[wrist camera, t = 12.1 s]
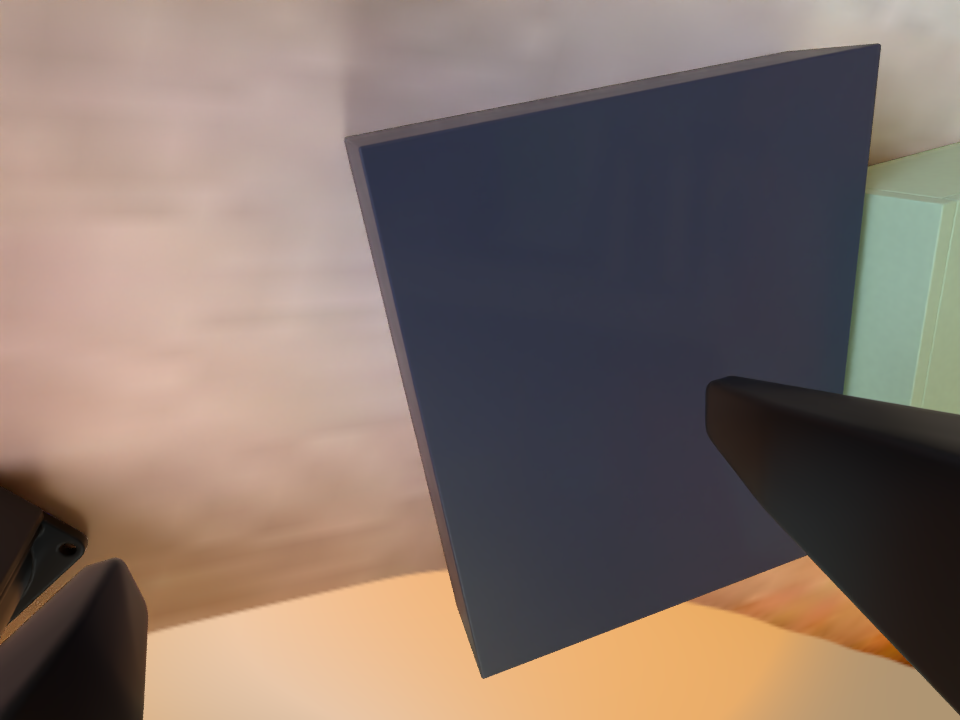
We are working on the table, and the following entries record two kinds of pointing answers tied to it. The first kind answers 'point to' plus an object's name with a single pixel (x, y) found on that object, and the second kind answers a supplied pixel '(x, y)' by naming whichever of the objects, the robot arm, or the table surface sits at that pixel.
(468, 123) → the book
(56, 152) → the table surface
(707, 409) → the robot arm
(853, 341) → the green arch-shaped block
